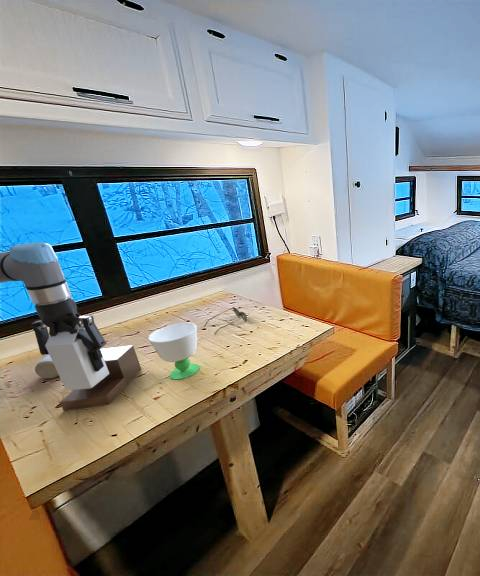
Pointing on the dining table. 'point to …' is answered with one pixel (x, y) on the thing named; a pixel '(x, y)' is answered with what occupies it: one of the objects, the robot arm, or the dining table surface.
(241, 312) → the sunglasses
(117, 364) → the shelf stand
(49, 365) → the ceramic mug
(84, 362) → the milk carton
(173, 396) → the dining table surface
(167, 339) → the cup
